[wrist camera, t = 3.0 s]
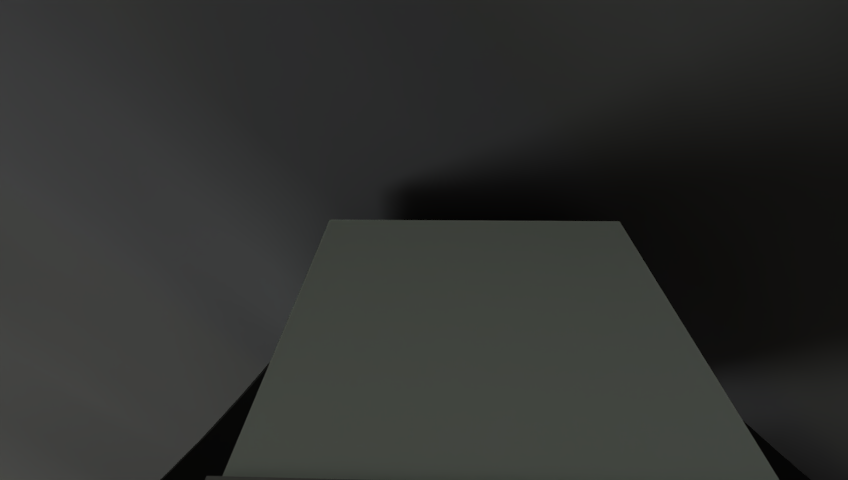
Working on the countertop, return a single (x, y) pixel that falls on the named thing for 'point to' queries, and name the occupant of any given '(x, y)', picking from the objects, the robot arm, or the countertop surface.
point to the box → (488, 364)
